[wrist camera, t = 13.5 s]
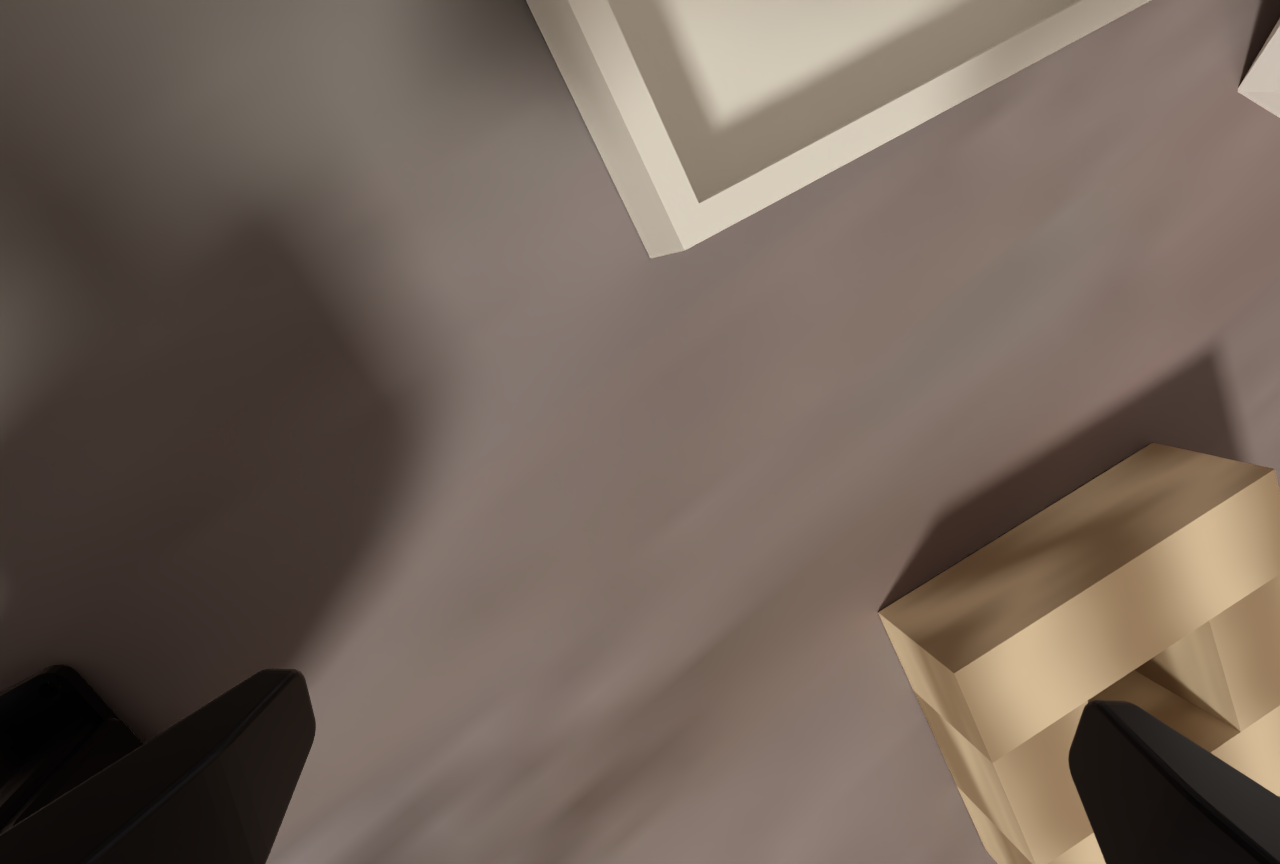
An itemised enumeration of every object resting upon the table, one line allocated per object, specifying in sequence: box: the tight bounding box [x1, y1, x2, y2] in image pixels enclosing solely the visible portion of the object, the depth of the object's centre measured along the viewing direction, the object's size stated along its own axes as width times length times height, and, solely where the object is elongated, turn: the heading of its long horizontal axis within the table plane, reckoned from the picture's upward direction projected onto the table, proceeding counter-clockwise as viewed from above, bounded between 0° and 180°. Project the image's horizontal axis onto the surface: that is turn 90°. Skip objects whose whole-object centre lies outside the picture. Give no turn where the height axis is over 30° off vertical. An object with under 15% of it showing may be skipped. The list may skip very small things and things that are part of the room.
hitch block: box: [878, 443, 1280, 864], centre depth 24 cm, size 12×12×4 cm
